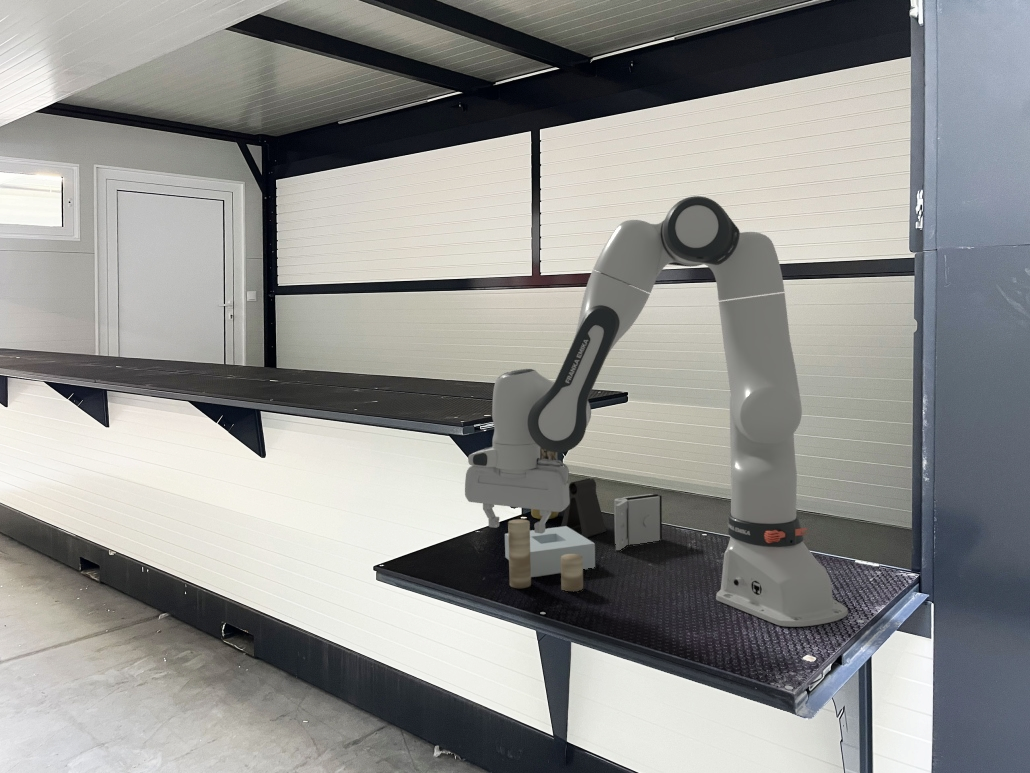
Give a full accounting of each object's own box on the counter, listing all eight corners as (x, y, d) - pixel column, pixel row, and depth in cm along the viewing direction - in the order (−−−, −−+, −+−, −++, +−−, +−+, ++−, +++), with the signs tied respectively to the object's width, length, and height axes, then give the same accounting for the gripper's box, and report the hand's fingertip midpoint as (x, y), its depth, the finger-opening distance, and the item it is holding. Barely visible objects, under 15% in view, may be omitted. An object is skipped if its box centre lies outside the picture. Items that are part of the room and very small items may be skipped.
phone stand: (606, 532, 184) (605, 481, 183) (588, 537, 181) (587, 485, 179) (578, 525, 191) (577, 475, 190) (560, 530, 187) (559, 479, 186)
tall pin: (534, 586, 150) (532, 523, 149) (513, 589, 148) (512, 526, 147) (526, 579, 153) (525, 518, 152) (506, 582, 152) (505, 520, 151)
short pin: (586, 590, 147) (586, 558, 146) (566, 594, 145) (566, 561, 145) (577, 584, 151) (577, 552, 150) (558, 587, 149) (557, 555, 149)
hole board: (595, 567, 159) (594, 543, 159) (529, 577, 155) (528, 552, 154) (566, 548, 173) (566, 526, 172) (505, 557, 168) (504, 533, 167)
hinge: (618, 552, 169) (617, 505, 168) (601, 547, 174) (600, 501, 173) (665, 540, 177) (664, 495, 176) (647, 535, 182) (647, 491, 181)
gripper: (575, 457, 147) (574, 531, 148) (476, 449, 156) (476, 519, 157) (562, 464, 141) (562, 540, 143) (460, 455, 150) (461, 527, 151)
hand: (516, 529), depth 150 cm, fingers open, 8 cm apart
